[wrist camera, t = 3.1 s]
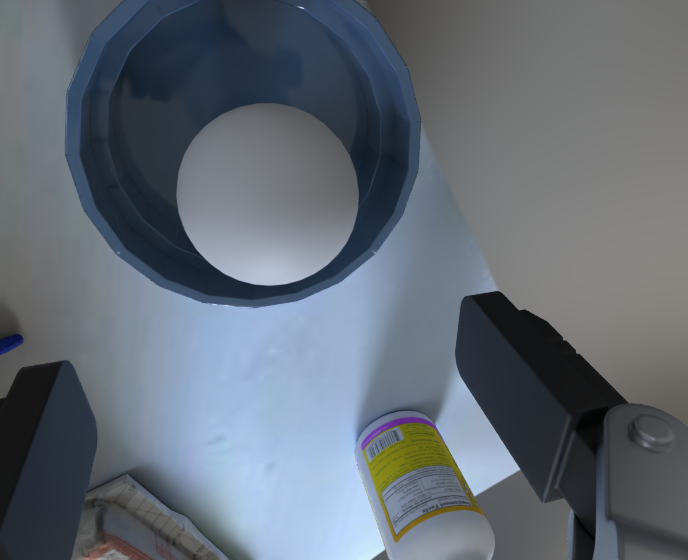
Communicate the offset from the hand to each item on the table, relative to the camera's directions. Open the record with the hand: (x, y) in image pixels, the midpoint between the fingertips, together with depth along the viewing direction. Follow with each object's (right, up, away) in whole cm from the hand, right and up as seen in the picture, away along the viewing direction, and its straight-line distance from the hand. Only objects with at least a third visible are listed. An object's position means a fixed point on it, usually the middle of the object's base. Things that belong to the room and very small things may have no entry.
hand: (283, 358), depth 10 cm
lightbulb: (-3, +9, +13) cm, 16 cm away
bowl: (-3, +9, +13) cm, 16 cm away
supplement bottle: (+5, -10, +28) cm, 30 cm away
